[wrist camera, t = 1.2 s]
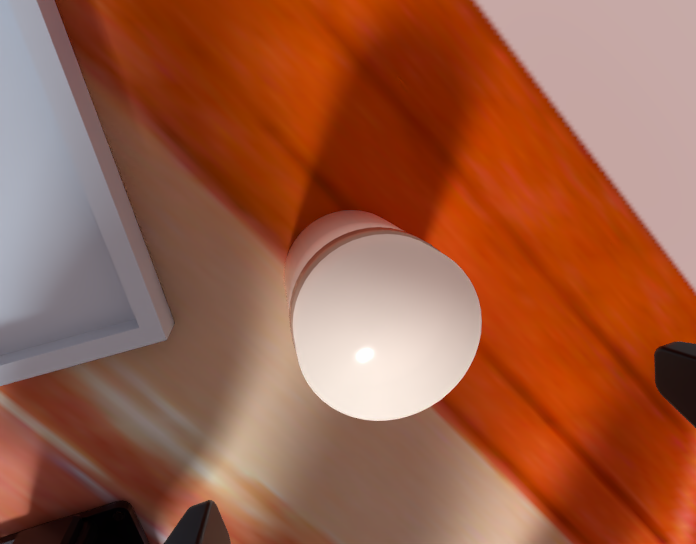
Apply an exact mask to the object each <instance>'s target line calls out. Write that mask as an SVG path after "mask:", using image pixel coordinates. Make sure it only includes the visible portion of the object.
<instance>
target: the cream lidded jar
mask: <svg viewBox="0 0 696 544" xmlns="http://www.w3.org/2000/svg"><path fill="white" fill-rule="evenodd" d="M284 286H285V291H286V297H287V302H288V308H289V318H290V327H291V333H292V338H293V343H294V347H295V350H296V353H297V357H298V362H299V365H300V368H301V371H302V374H303V376H304V377H305V379H306V381H307V383H308V385H309V386H310V387H311V389H312V390H313V391H314V393H315V394H316V395H317V396H318V397H319V398H320V399H321V400H322V401H323V402H325V403H326V404H328V405H329V406H330V407H332V408H333V409H335V410H337V411H339V412H341V413H343V414H346V415H348V416H351V417H355V418H359V419H363V420H372V421H386V420H394V419H399V418H403V417H407V416H410V415H413V414H416V413H418V412H421V411H423V410H425V409H427V408H429V407H430V406H432V405H433V404H435V403H437V402H438V401H440V400H441V399H442V398H443V397H445V396H446V395H447V394H448V393H449V392H450V391H451V390H452V389H453V388H454V387H455V386H456V385H457V384H458V383H459V381H460V380H461V379H462V378H463V376H464V375H465V373H466V372H467V370H468V368H469V367H470V365H471V363H472V361H473V359H474V356H475V354H476V351H477V348H478V345H479V340H480V335H481V324H482V320H481V309H480V304H479V299H478V297H477V294H476V291H475V289H474V287H473V285H472V283H471V281H470V279H469V278H468V277H467V275H466V274H465V273H464V271H463V270H462V269H461V268H460V267H459V266H458V265H457V264H456V263H455V262H454V261H453V260H451V259H450V258H448V257H447V256H446V255H444V254H442V253H441V252H440V251H438V250H437V249H436V248H434V247H433V246H432V245H430V244H428V243H427V242H425V241H423V240H422V239H420V238H418V237H416V236H414V235H412V234H410V233H407V232H405V231H403V230H402V229H400V228H398V227H397V226H395V225H393V224H392V223H390V222H388V221H386V220H385V219H383V218H381V217H379V216H377V215H375V214H372V213H369V212H365V211H359V210H343V211H338V212H333V213H330V214H327V215H325V216H323V217H321V218H319V219H317V220H315V221H314V222H312V223H311V224H310V225H308V226H307V227H306V228H305V229H304V230H303V231H302V232H301V233H300V234H299V235H298V237H297V238H296V240H295V241H294V242H293V244H292V246H291V248H290V250H289V252H288V255H287V258H286V262H285V267H284Z"/></svg>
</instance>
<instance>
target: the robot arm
mask: <svg viewBox="0 0 696 544" xmlns="http://www.w3.org/2000/svg"><path fill="white" fill-rule="evenodd" d="M654 361H655V383H656V387H657V389H658V391H659V392H660V393H661V395H662V396H663V397H664V398H665V399H666V400H667V401H668V402H669V403H670V404H672V405H673V406H674V407H675V408H676V409H677V410H678V411H679V412H680V413H681V414H682V415H683V416H684V417H685V418H686V419H687V420H688V421H689V422H690V423H691V424H692V425H693V426H694V427H695V428H696V344H692V343H685V342H672V343H669V344H666V345H663V346H660V347H658V348H657V349H656V351H655V354H654ZM117 512H123V513H124V514H118V513H117ZM0 544H149V541H148V539H147V537H146V535H145V533H144V531H143V529H142V527H141V524H140V522H139V520H138V518H137V516H136V514H135V512H134V510H133V508H132V506H131V504H130V503H128V502H126V501H118V502H114V503H111V504H108V505H105V506H102V507H98V508H95V509H92V510H89V511H86V512H82V513H79V514H76V515H71V516H68V517H65V518H62V519H58V520H55V521H52V522H49V523H46V524H42V525H39V526H36V527H33V528H30V529H26V530H23V531H21V532H19V533H16V534H12V535H9V536H6V537H3V538H0ZM164 544H231V542H230V537H229V534H228V531H227V529H226V526H225V524H224V522H223V519H222V517H221V515H220V512H219V510H218V508H217V505H216V504H215V502H214V501H211V500H208V501H205V502H202V503H199V504H197V505H194V506H192V507H190V508H189V509H188V510H187V511H186V513H185V514H184V516H183V517H182V518H181V520H180V521H179V523H178V524H177V526H176V527H175V528H174V530H173V531H172V533H171V534H170V536H169V537H168V538H167V540H166V541H165V543H164Z"/></svg>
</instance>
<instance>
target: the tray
mask: <svg viewBox="0 0 696 544" xmlns="http://www.w3.org/2000/svg"><path fill="white" fill-rule="evenodd" d="M174 324H175V322H174V320H173V317H172V314H171V311H170V309H169V306H168V303H167V301H166V298H165V295H164V293H163V290H162V287H161V285H160V282H159V279H158V277H157V274H156V271H155V269H154V266H153V263H152V261H151V258H150V255H149V252H148V250H147V247H146V244H145V242H144V239H143V236H142V234H141V231H140V228H139V226H138V223H137V220H136V218H135V215H134V212H133V210H132V207H131V204H130V202H129V199H128V196H127V193H126V191H125V188H124V185H123V183H122V180H121V177H120V175H119V172H118V169H117V167H116V164H115V161H114V159H113V156H112V153H111V151H110V148H109V145H108V143H107V140H106V137H105V134H104V132H103V129H102V126H101V124H100V121H99V118H98V116H97V113H96V110H95V108H94V105H93V102H92V100H91V97H90V94H89V92H88V89H87V86H86V84H85V81H84V78H83V75H82V73H81V70H80V67H79V65H78V62H77V59H76V57H75V54H74V51H73V49H72V46H71V43H70V41H69V38H68V35H67V33H66V30H65V27H64V25H63V22H62V19H61V16H60V14H59V11H58V8H57V6H56V3H55V0H0V386H3V385H6V384H10V383H13V382H17V381H21V380H24V379H28V378H32V377H35V376H39V375H42V374H46V373H50V372H53V371H57V370H60V369H64V368H68V367H71V366H75V365H79V364H82V363H86V362H89V361H93V360H97V359H100V358H104V357H107V356H111V355H115V354H118V353H122V352H125V351H129V350H133V349H136V348H140V347H144V346H147V345H151V344H154V343H158V342H162V341H165V340H167V339H168V337H169V334H170V332H171V330H172V328H173V326H174Z"/></svg>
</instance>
